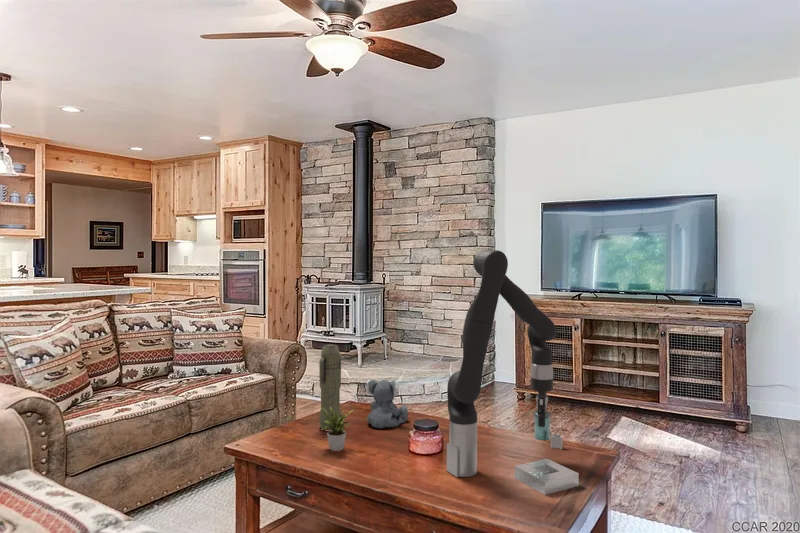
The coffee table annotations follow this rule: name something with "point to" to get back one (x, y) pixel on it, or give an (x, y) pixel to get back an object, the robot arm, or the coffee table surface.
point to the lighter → (556, 441)
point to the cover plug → (542, 432)
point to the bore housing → (546, 476)
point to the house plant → (336, 430)
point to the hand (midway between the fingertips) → (542, 423)
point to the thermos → (330, 383)
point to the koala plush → (385, 405)
